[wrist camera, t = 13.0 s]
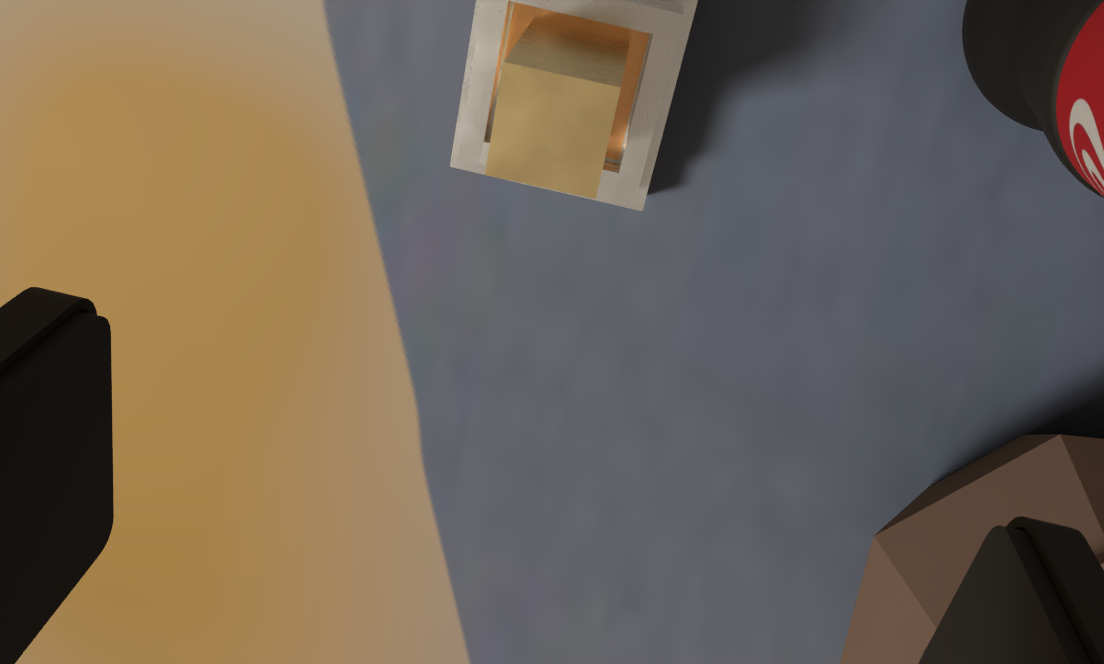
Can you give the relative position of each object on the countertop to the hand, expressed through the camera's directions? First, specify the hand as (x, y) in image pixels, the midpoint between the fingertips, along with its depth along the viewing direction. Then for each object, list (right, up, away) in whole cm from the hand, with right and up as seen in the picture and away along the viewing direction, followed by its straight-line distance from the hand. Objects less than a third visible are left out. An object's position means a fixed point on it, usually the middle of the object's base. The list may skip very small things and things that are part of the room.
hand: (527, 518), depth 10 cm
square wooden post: (+1, +13, +32) cm, 34 cm away
